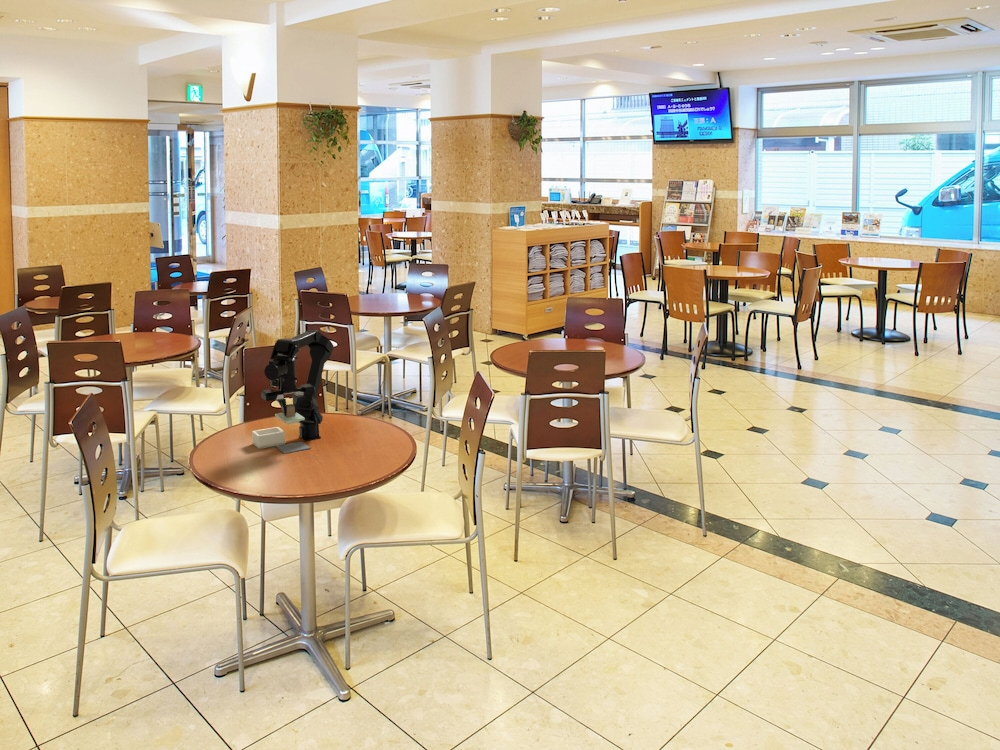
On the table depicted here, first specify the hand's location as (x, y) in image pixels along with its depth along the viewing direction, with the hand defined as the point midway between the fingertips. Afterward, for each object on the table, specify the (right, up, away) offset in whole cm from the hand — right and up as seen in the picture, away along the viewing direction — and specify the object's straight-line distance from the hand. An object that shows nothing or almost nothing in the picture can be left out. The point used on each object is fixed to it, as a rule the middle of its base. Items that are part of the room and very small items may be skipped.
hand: (289, 414), depth 319 cm
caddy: (-9, -11, +7) cm, 16 cm away
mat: (+1, -12, +3) cm, 13 cm away
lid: (0, -1, 0) cm, 1 cm away
